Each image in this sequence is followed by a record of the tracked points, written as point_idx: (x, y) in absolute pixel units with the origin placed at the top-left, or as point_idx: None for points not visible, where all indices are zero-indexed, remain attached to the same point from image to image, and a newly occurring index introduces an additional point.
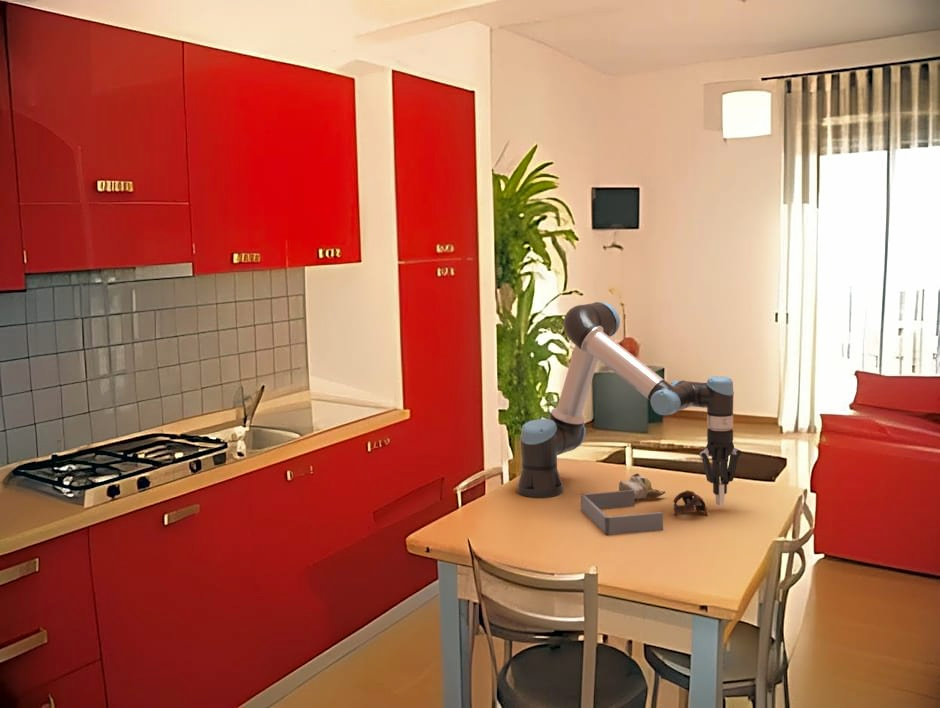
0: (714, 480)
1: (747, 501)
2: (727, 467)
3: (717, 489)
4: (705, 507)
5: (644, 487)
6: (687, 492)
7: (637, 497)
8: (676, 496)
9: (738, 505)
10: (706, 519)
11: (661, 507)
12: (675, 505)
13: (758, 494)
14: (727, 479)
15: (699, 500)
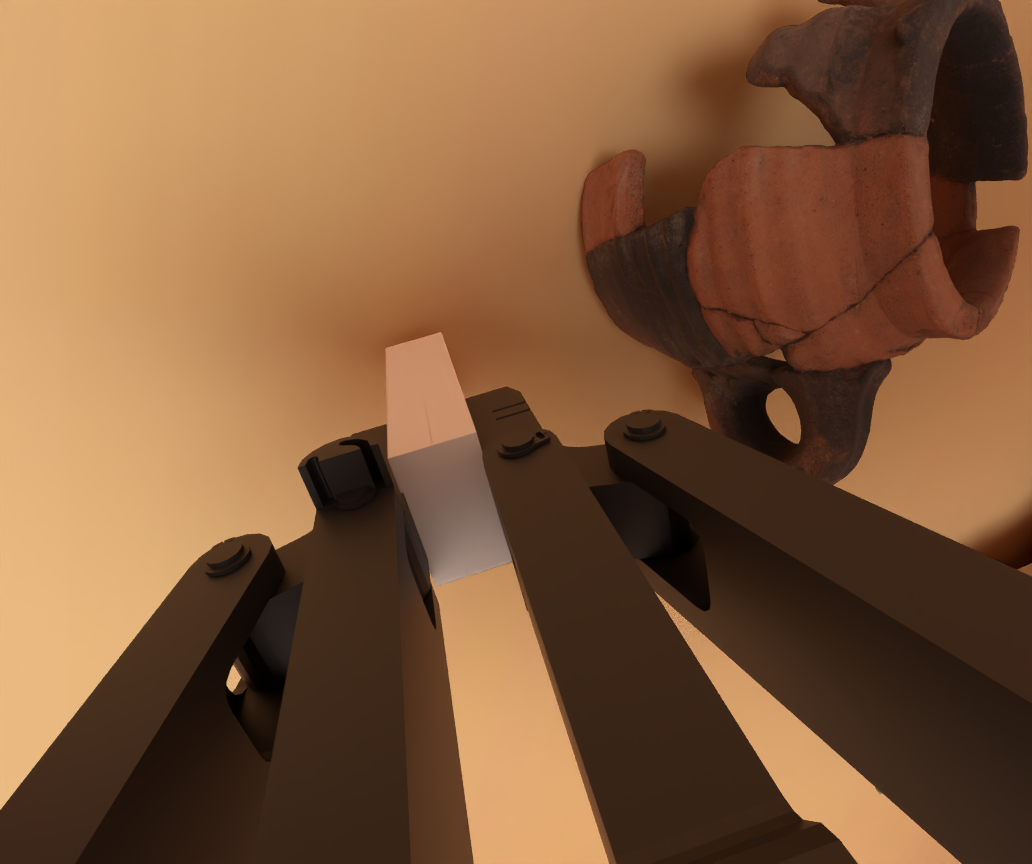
0: (588, 479)
1: (113, 636)
2: (274, 784)
3: (494, 421)
4: (635, 207)
5: None
6: (947, 279)
7: (1025, 568)
8: (1002, 295)
9: (213, 519)
10: (631, 38)
11: (893, 434)
12: (1024, 125)
13: None
14: (315, 539)
15: (810, 90)
